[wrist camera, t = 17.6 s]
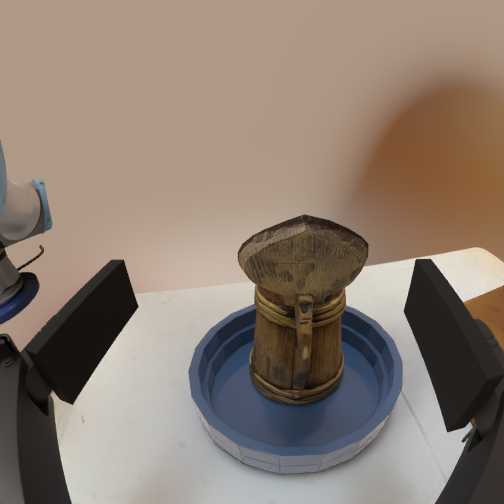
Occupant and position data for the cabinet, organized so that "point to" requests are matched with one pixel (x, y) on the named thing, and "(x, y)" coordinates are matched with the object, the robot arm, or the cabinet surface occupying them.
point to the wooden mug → (300, 305)
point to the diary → (489, 313)
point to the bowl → (287, 414)
